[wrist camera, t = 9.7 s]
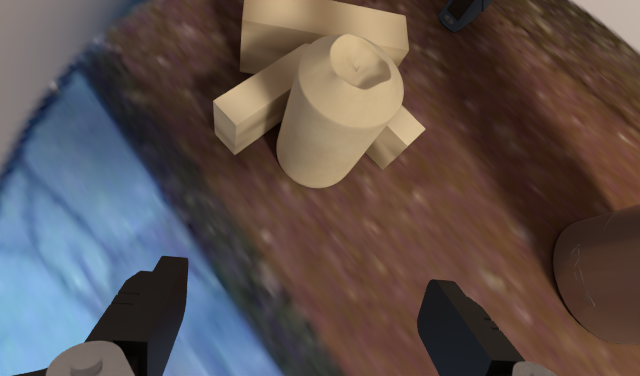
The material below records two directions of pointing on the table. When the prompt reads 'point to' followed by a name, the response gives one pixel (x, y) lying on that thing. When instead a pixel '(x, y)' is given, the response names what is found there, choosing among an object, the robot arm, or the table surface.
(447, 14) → the vaping device
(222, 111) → the letter k block
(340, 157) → the candle
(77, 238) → the table surface
